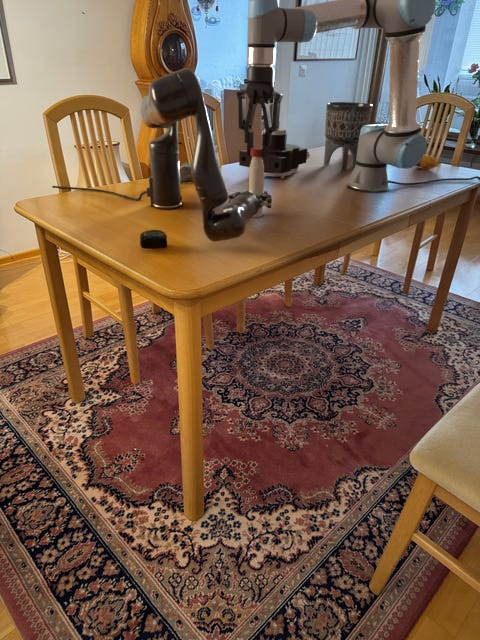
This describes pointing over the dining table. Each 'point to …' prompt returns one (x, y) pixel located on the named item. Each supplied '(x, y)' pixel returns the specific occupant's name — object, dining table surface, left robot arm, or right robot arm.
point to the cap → (256, 151)
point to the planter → (345, 128)
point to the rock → (185, 173)
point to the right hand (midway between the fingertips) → (257, 155)
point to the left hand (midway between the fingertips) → (257, 193)
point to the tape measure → (153, 239)
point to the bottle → (256, 179)
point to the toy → (427, 162)
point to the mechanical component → (279, 156)
